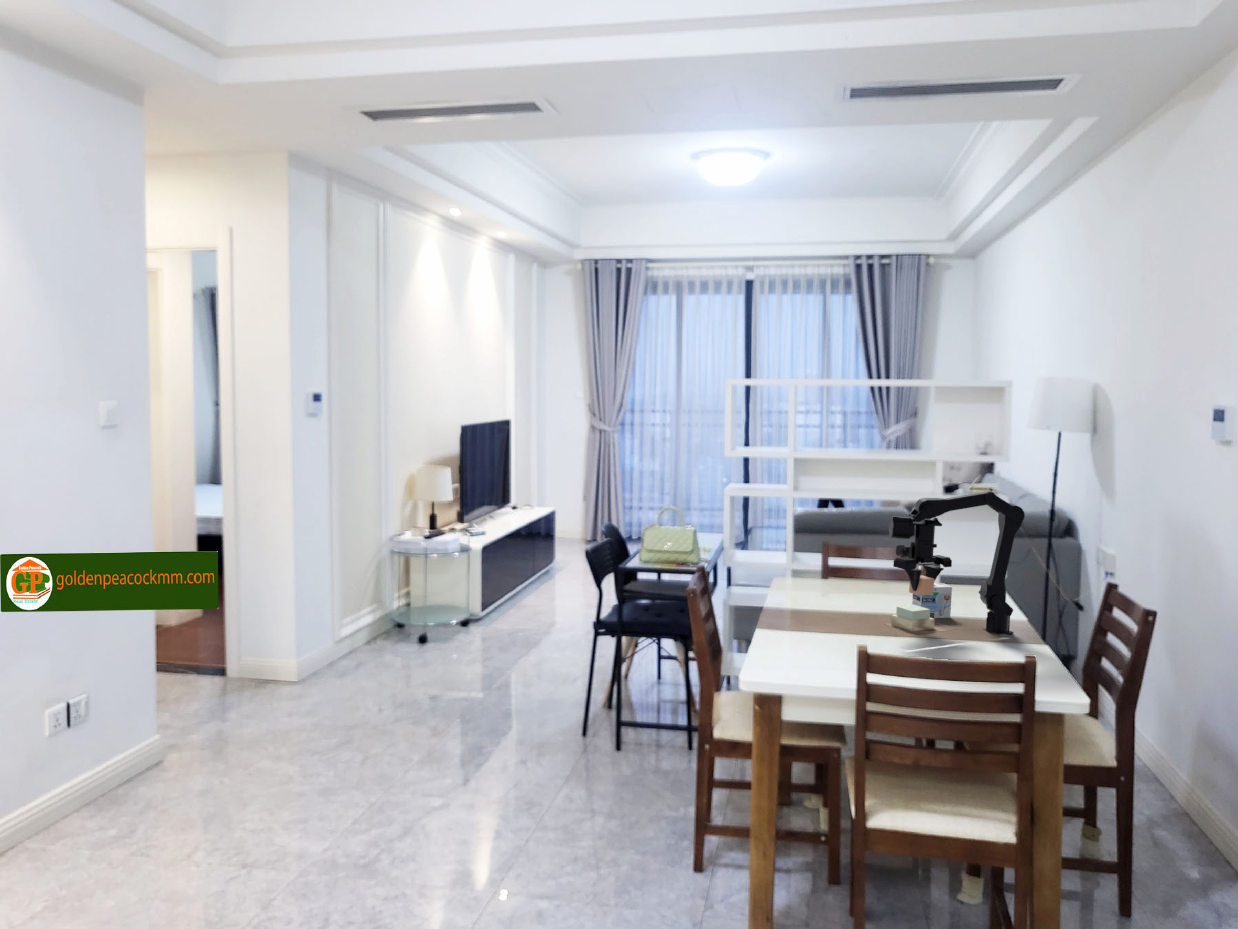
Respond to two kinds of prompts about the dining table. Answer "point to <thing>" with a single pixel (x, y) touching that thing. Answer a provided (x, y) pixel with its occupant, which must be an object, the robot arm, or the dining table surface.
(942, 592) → the light bulb box
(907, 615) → the sage block
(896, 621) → the beech slab
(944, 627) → the walnut board
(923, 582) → the terracotta cube
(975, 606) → the dining table surface
